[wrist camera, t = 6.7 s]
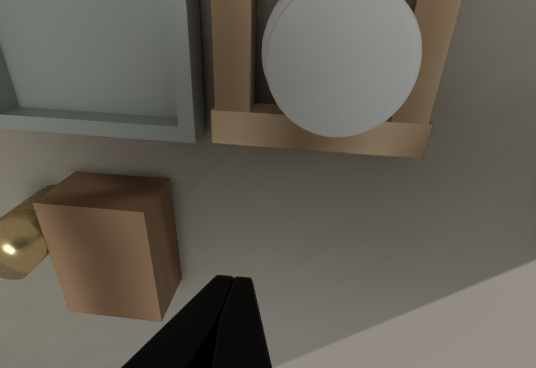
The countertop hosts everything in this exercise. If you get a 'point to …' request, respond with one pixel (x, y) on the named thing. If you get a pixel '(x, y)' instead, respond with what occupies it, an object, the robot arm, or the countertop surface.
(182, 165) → the countertop surface
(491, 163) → the countertop surface
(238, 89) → the socket collar
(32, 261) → the bench dog
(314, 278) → the countertop surface
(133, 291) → the brown cardboard box
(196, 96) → the tray
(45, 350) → the countertop surface
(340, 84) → the pill bottle
